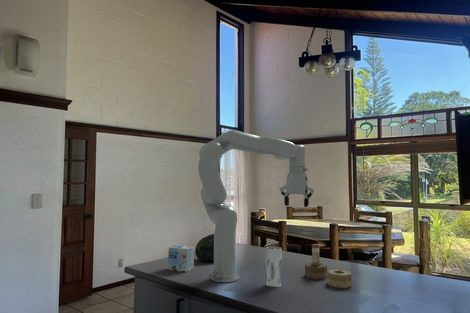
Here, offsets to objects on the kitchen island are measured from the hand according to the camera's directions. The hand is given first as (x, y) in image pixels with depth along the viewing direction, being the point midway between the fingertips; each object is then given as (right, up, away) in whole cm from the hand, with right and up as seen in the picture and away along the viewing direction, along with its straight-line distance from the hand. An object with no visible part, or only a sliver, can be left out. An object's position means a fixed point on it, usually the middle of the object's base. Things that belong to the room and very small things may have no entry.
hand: (296, 206), depth 163 cm
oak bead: (+14, -29, -22) cm, 39 cm away
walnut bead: (+7, -30, -10) cm, 32 cm away
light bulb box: (-55, -31, 0) cm, 63 cm away
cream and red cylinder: (+7, -30, -10) cm, 33 cm away
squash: (-43, -32, +19) cm, 57 cm away
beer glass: (-14, -29, -23) cm, 40 cm away
